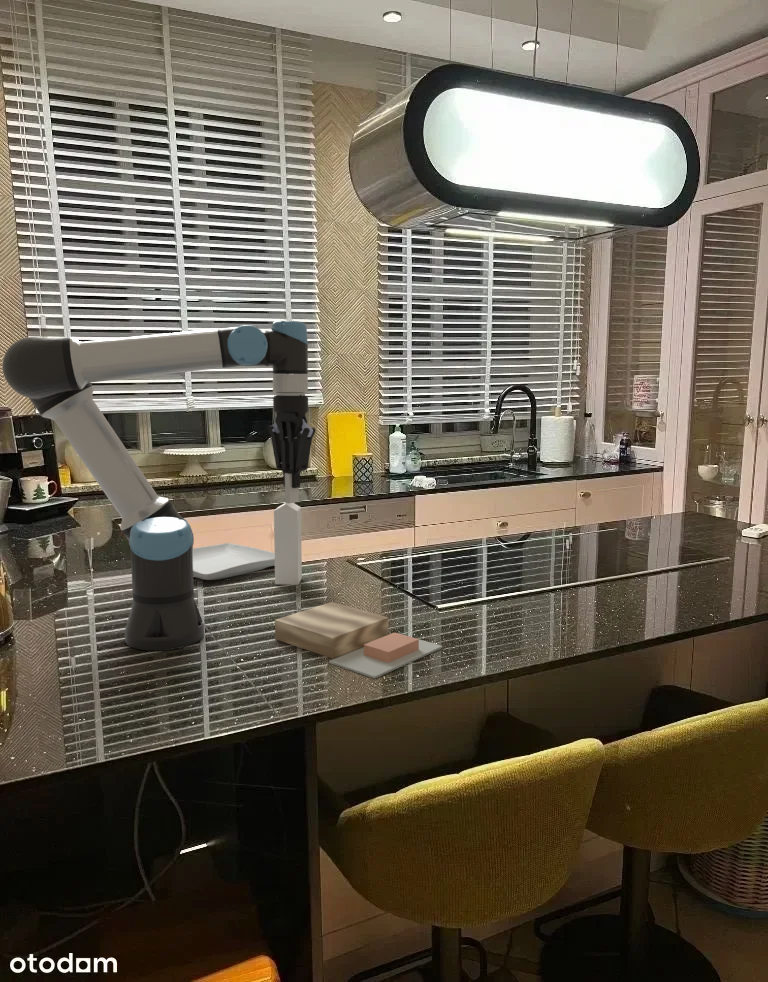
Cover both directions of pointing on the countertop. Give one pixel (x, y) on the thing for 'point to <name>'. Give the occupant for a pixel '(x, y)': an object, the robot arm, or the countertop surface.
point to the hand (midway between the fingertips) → (292, 502)
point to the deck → (331, 629)
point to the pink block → (391, 647)
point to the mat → (378, 667)
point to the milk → (288, 544)
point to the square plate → (229, 561)
